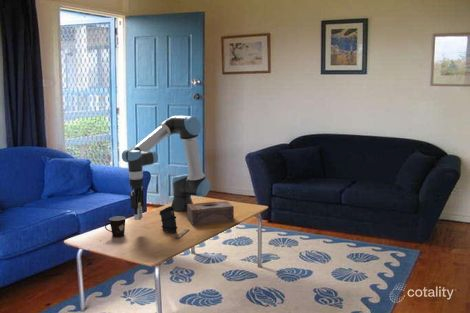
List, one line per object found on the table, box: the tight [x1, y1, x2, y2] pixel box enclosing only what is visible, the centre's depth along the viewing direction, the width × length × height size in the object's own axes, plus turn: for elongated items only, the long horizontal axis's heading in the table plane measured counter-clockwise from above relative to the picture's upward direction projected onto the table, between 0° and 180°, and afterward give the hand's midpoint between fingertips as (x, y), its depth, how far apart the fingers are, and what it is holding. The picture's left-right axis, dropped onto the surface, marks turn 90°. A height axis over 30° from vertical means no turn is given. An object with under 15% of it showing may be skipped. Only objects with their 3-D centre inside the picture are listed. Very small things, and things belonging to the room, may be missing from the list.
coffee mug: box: [104, 215, 126, 238], centre depth 266 cm, size 12×9×10 cm
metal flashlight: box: [138, 201, 142, 221], centre depth 269 cm, size 3×3×10 cm
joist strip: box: [174, 228, 190, 240], centre depth 268 cm, size 16×2×1 cm, turn 164°
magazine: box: [159, 205, 178, 235], centre depth 273 cm, size 4×13×15 cm, turn 40°
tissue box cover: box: [186, 200, 235, 227], centre depth 294 cm, size 26×14×10 cm, turn 107°
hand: (138, 218), depth 270 cm, fingers closed on metal flashlight, 3 cm apart
